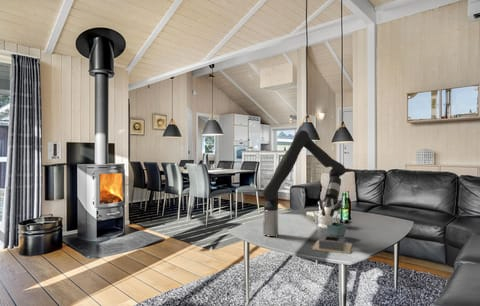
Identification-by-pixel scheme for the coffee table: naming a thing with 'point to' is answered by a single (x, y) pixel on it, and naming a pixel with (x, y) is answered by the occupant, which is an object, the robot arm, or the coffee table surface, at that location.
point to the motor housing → (332, 244)
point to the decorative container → (322, 218)
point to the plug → (328, 214)
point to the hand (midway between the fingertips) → (327, 215)
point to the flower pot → (336, 229)
